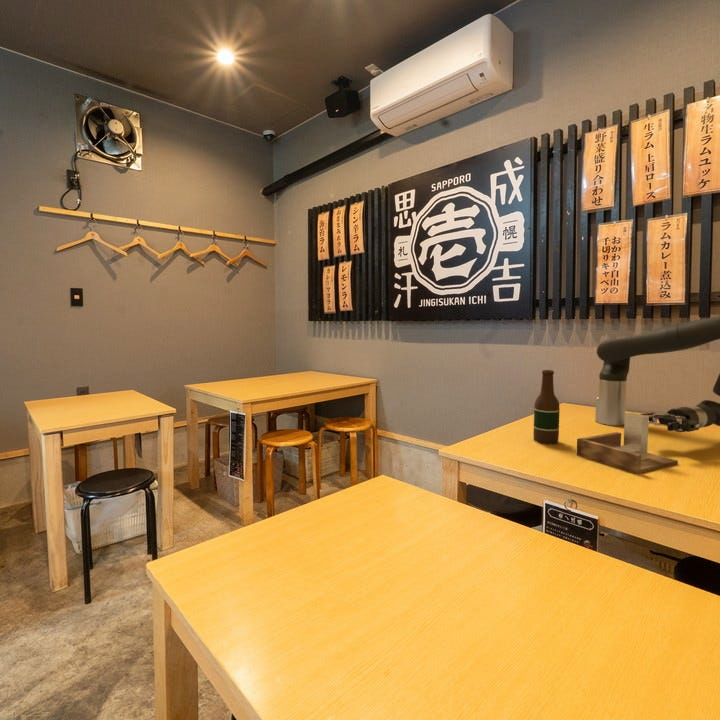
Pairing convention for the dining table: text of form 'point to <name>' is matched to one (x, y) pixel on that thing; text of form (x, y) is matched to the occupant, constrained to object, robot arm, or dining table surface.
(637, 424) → the bracket
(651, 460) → the board
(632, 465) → the walls
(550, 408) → the beer bottle
